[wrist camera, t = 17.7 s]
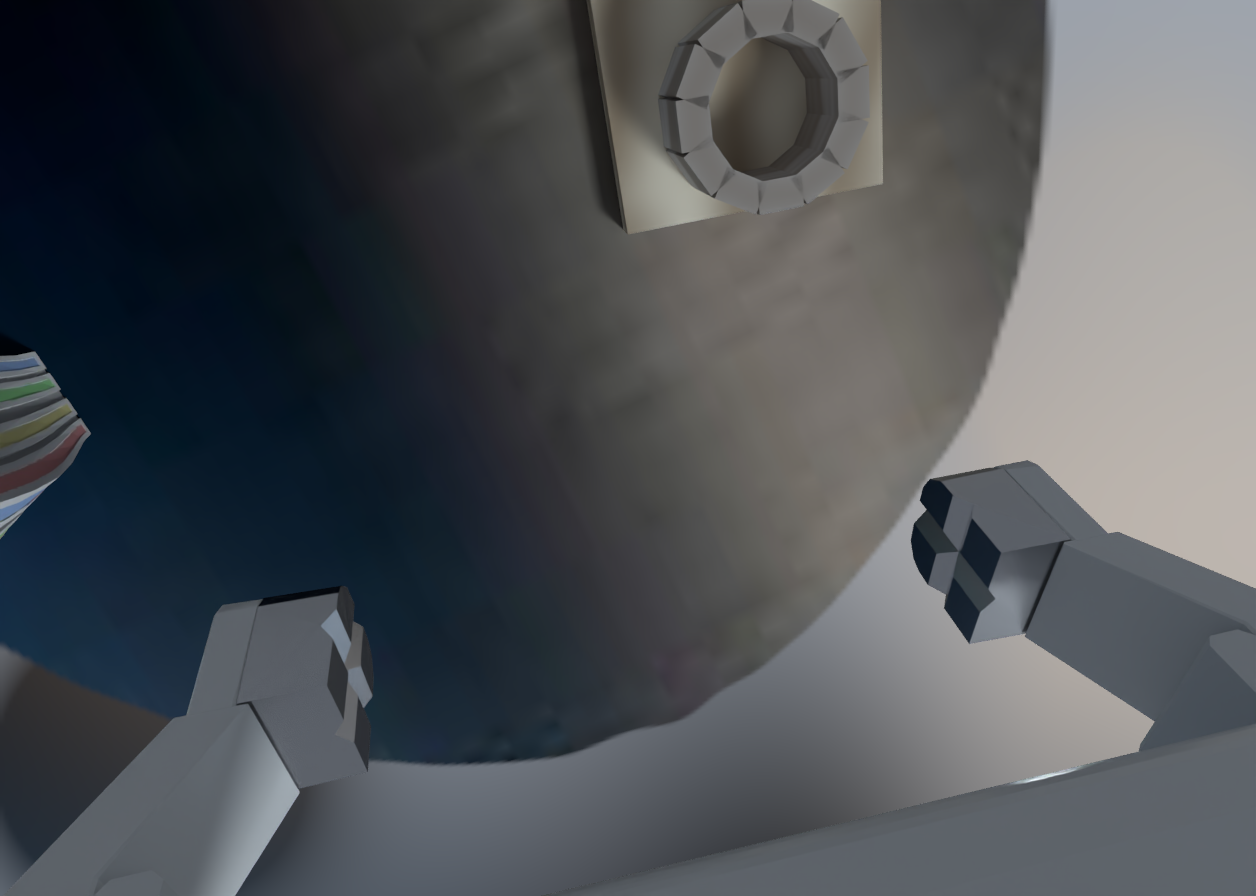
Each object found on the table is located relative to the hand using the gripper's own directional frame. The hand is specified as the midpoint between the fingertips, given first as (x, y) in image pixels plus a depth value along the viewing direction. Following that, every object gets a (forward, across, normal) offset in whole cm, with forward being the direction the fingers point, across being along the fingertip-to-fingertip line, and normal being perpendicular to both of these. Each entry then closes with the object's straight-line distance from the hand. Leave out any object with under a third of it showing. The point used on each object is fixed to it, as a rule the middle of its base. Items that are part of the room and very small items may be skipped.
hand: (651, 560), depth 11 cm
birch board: (+34, -12, -3) cm, 36 cm away
